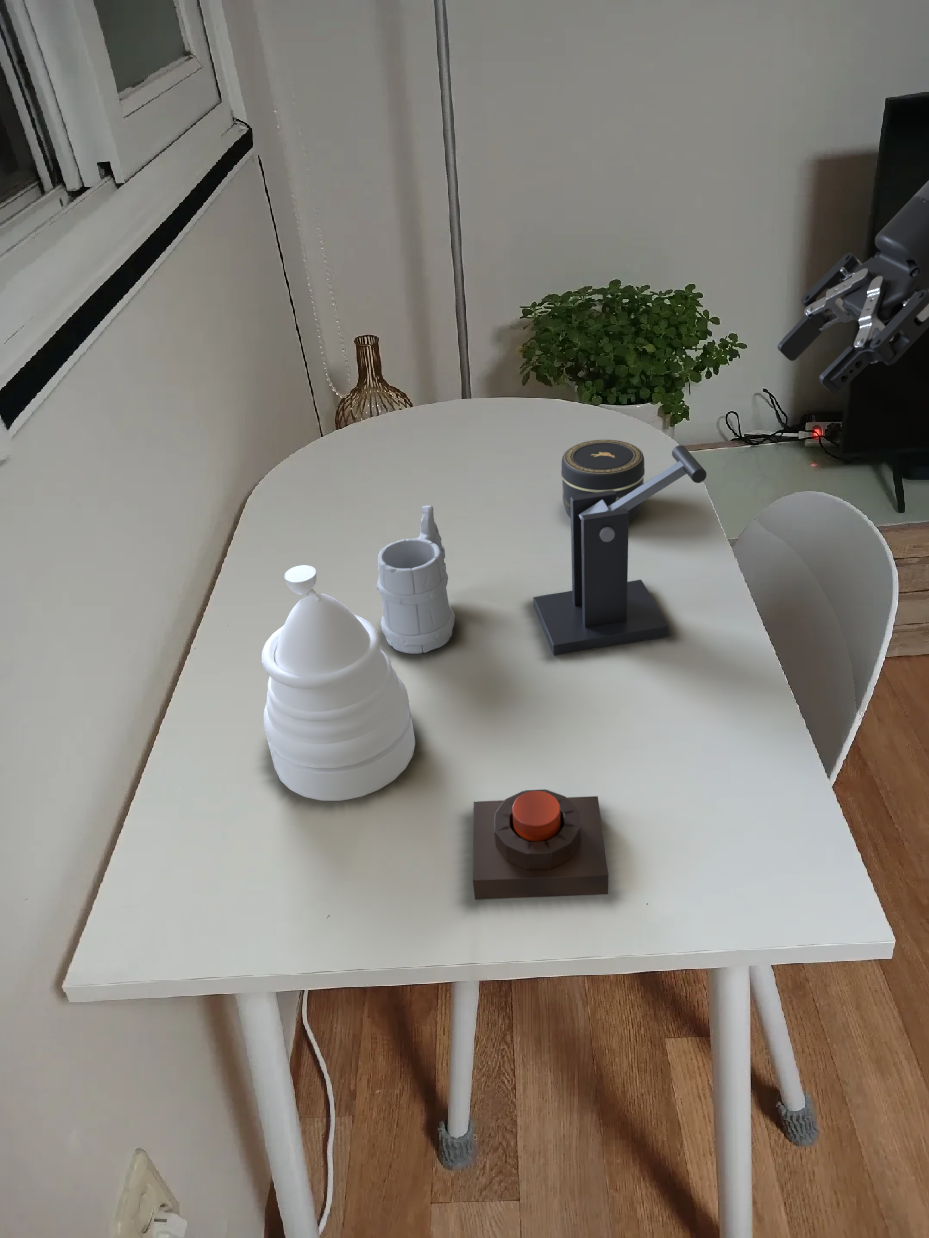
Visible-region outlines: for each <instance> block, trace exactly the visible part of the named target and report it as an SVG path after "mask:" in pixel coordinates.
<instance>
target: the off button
mask: <svg viewBox="0 0 929 1238" xmlns="http://www.w3.org/2000/svg"><path fill="white" fill-rule="evenodd" d="M512 812H513V825H514V829H515V831H516V832H517V834H518V835H519V836H521V837H522V838H524V839H526V840H529V841H535V842H538V841H545V840H548V839H550V838H552V837H553V836H555V835H556V834H557V832H558V831H559V829H560V825H561V817H560V804H559V802H558V801H557V799H556V798H555V797H554V796H552V795H551V794H549V793H546V792H542V791H531V792H527V793H524V794H522V795H521V796H519V797H518V798H517V799H516V800H515V802H514V804H513V807H512Z"/></svg>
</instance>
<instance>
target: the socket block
mask: <svg viewBox="0 0 929 1238" xmlns="http://www.w3.org/2000/svg"><path fill="white" fill-rule="evenodd" d="M531 791H542V792H546V793H549V794H551V795H552V796H554V797H555V798H556V799H557V801H558V802H559V804H560V817H561V825H560V829H559V831H558V832H557V834H556V835H555V836H553V837H552V838H550V839H548V840H545V841H538V842H535V841H529V840H526V839H524V838H522V837H521V836H519V835H518V834H517V832H516V831H515V829H514V825H513V812H512V807H513V804H514V802H515V800H516V799H517V798H518V797H519V796H521V795H522V794H524V793H527V792H531ZM472 818H473V820H472V821H473V822H472V826H473V827H472V889H473V896H474V901H475V900H498V899H500V900H501V899H525V898H550V897H577V896H578V897H579V896H600V895H601V896H603V895H604V896H605V895H609V870H608V863H607V854H606V848H605V847H606V846H605V839H604V832H603V825H602V818H601V809H600V802H599V797H598V795H594V796H570V797H567V796H565V795H562V794H561V793H557V792H555V791H552V790H549V789H545V788H544V789H525V790H522V791H520V792H518V793H515V794H514V795H512V796H511V795H510V796H509V797H507V798H505V799H504V800H503V799H502V800H481V801H473V817H472Z"/></svg>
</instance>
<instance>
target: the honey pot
mask: <svg viewBox="0 0 929 1238" xmlns="http://www.w3.org/2000/svg"><path fill="white" fill-rule="evenodd" d="M284 580H285V582H286V585H287V586H288V588H289V589H290V590H291V591H292V592H293V593H295V594H297V595H299V596H303V597H302V598H301V599H300V600H298V601H297V603H296V604H295V605H294V606H293V607H292V609H291V610H290V612H289V613H288V615H287V618H286V619H285V622H284V625H282V626H281V627H279V628H278V629H277V630H275V631H274V632H273V633H272V634H271V635H270V637H269V638H268V639H267V640H266V641H265V643H264V645H263V648H262V650H261V665H262V667H263V670H264V671H265V673H266V675H268V676H269V678H268V680H267V693H266V703H265V706H264V709H263V729H264V732H265V737H266V739H267V744H268V748H269V751H270V754H271V759H272V763H273V767H274V770H275V772H276V774H277V776H278V778H279V781H281V782H282V784H284V785H285V786H286V787H287V788H288V789H289V790H290V791H292V792H293V793H296V794H297V795H299V796H302V797H304V798H308V799H312V800H317V801H322V802H323V801H326V802H327V801H328V802H329V801H330V802H332V801H333V802H336V801H337V802H339V801H347V800H352V799H357V798H362V797H364V796H367V795H369V794H372V793H374V792H377V791H379V790H381V789H382V788H384V787H386V786H388V785H389V784H391V783H392V782H394V781H395V780H396V779H397V778H398V777H399V776H400V775H401V774H402V773H403V772H404V770H406V768H407V767H408V765H409V763H410V761H411V760H412V758H413V756H414V753H415V752H414V751H415V747H416V738H415V733H414V732H415V731H414V725H413V718H412V713H411V706H410V699H409V695H408V690H407V688H406V685H405V683H404V682H403V680H402V679H401V677H400V676H399V675H398V674H397V671H396V670H395V669H394V667H393V665H392V662H391V660H390V659H389V657H388V656H387V654H386V653H385V651H383V650H382V649H380V647H381V639H380V633H379V632H378V631H377V629H376V627H375V626H374V625H373V624H372V623H371V622H369V621H368V620H367V619H366V618H363V617H361V616H359V615H356V614H354V613H353V612H352V611H351V609H349V608H348V607H347V606H346V605H344V603H342V602H340V601H339V600H337V599H336V598H334V597H333V596H330V595H329V594H325V593H318V592H316V590H314V589H315V587H316V583H317V570H316V568H315V567H314V566H311V565H308V564H302V565H296V566H293V567H291V568H289V569H288V570H287V571H286V572H285V573H284Z"/></svg>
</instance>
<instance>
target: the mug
mask: <svg viewBox="0 0 929 1238" xmlns="http://www.w3.org/2000/svg"><path fill="white" fill-rule="evenodd" d="M421 514H422V515H421V520H420V525H419V526H420V528H419V529H420V531H419V536H418V537H416V538H414V537H413V538H403V539H398V540H397V541H393V542H391V543H388V544H387V545H385V546H384V547H382V549H380V550H379V552H378V556H377V568H378V578H377V581H376V582H377V583H376V590H377V591H378V593H379V594H380V597H381V603H382V605H381V606H382V615H381V618H380V620H381V621H380V628H381V631H382V634H383V635H384V636H385V639H386V641H387V643H388V645H389V646H391V647H392V648H393V649H394V650H395V651H397V652H401V653H404V654H413V655H414V654H415V655H416V654H423V653H424V654H426V653H428V652H430V651H433V650H436V649H439V648H441V647H443V646H445V645H446V644H447V643H448V642H449V641H450V638H452V636H453V627H454V626H455V618H456V616H455V612H454V610H453V608H452V607H451V606H450V604H449V603H450V602H449V598H448V597H449V596H448V591H447V585H448V582H449V581H448V580H449V576H448V572H447V565H446V562H445V559H446V551H445V547H444V545H443V544H442V543H443V542H442V537H441V535H440V532H439V529H438V525H437V523H436V522H435V518H434V506H433V505H422V506H421Z"/></svg>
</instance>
